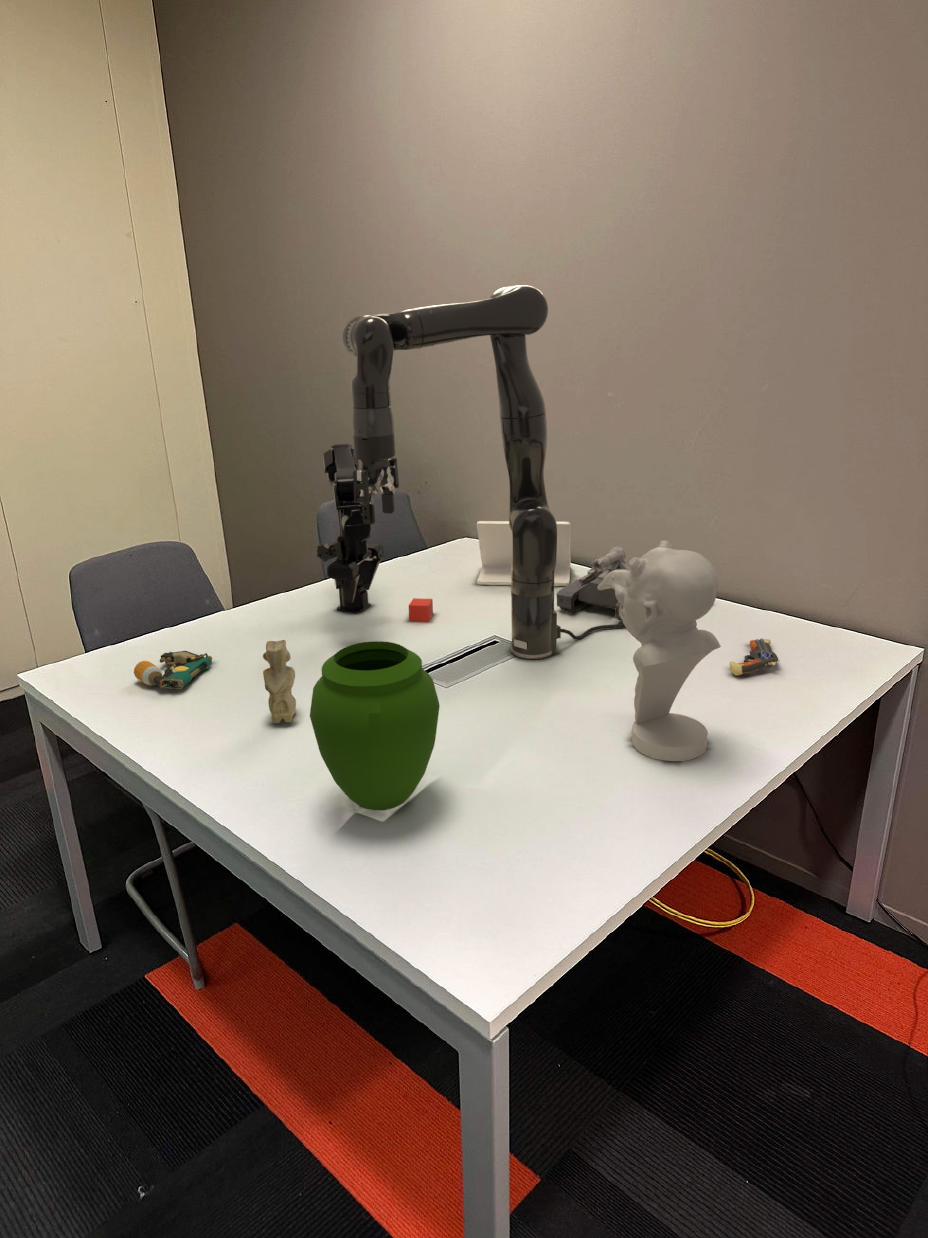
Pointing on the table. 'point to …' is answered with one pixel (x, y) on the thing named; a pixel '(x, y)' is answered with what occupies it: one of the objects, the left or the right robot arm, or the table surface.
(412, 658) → the vase
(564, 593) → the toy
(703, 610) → the bust sculpture
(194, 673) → the spray gun
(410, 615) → the brick
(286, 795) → the table surface
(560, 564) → the tablet stand
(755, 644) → the toy gun
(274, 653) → the sculpture
